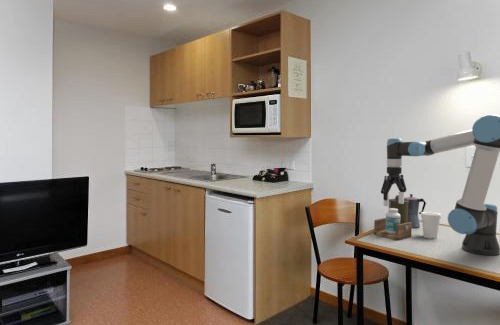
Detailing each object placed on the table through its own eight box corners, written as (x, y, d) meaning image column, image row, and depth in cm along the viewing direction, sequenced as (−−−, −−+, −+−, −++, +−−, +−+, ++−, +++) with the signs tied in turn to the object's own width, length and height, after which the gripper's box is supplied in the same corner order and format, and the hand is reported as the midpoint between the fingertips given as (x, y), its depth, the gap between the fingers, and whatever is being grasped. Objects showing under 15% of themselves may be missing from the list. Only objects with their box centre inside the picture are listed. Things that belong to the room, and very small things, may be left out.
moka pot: (404, 223, 217) (404, 192, 216) (429, 227, 205) (430, 195, 204) (396, 225, 211) (397, 193, 210) (422, 230, 199) (423, 196, 198)
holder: (412, 237, 185) (413, 222, 184) (399, 240, 178) (400, 225, 178) (385, 230, 199) (386, 217, 198) (372, 233, 192) (373, 219, 192)
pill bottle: (382, 231, 190) (383, 208, 190) (392, 230, 193) (393, 207, 192) (392, 235, 183) (393, 210, 183) (402, 233, 186) (403, 209, 185)
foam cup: (426, 239, 181) (426, 215, 180) (417, 234, 190) (418, 211, 190) (443, 239, 181) (444, 215, 180) (434, 234, 190) (434, 211, 190)
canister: (404, 226, 208) (405, 194, 206) (410, 231, 197) (411, 197, 196) (386, 226, 209) (386, 194, 208) (391, 230, 198) (392, 197, 197)
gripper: (401, 165, 196) (400, 201, 197) (373, 167, 182) (373, 206, 183) (413, 165, 190) (413, 203, 191) (386, 167, 176) (385, 208, 177)
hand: (393, 204), depth 187 cm, fingers open, 13 cm apart
